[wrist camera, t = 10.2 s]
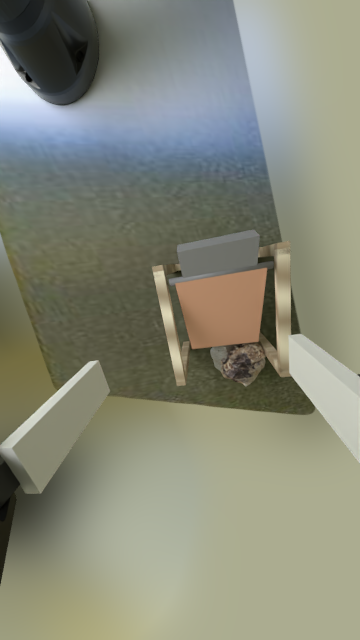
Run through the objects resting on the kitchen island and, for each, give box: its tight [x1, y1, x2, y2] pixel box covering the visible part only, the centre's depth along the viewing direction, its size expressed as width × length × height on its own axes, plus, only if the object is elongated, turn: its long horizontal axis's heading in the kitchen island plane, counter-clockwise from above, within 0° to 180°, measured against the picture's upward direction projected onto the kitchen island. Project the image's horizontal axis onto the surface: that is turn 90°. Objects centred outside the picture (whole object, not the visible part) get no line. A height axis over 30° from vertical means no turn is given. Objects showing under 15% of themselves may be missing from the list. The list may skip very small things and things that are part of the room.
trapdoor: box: [169, 230, 274, 349], centre depth 30 cm, size 19×14×3 cm
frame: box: [152, 241, 291, 386], centre depth 34 cm, size 20×18×15 cm
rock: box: [210, 342, 266, 386], centre depth 39 cm, size 9×12×10 cm
